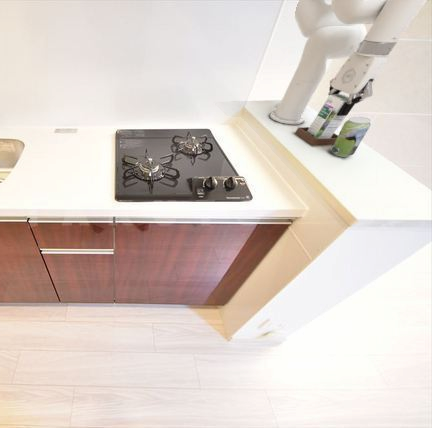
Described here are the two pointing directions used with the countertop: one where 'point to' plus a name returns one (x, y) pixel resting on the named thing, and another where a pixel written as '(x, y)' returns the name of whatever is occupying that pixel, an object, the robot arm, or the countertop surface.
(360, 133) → the beverage can
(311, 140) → the tray
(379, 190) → the countertop surface
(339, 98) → the syrup box
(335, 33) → the robot arm
